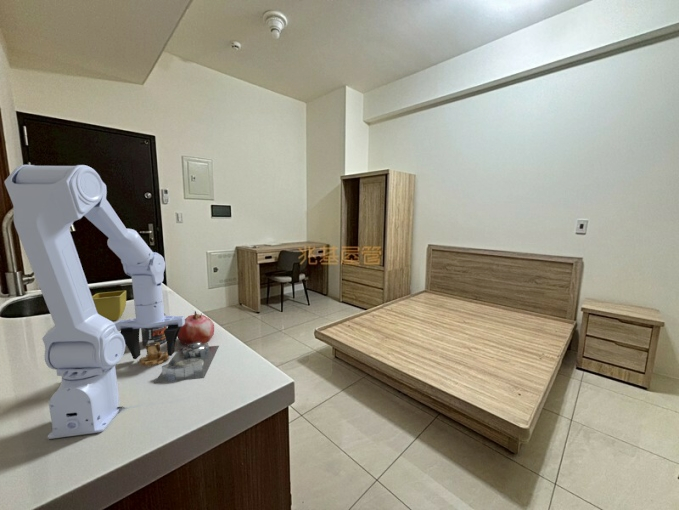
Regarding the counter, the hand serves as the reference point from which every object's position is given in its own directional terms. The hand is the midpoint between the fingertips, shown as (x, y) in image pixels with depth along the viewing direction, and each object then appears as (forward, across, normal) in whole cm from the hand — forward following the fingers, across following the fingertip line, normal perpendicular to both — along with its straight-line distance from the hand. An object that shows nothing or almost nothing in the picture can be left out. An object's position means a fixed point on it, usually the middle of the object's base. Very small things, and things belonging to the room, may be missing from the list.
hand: (154, 355), depth 71 cm
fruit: (+2, -7, -10) cm, 12 cm away
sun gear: (+1, -9, -2) cm, 9 cm away
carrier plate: (+2, -9, +3) cm, 10 cm away
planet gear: (+2, 0, 0) cm, 2 cm away
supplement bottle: (+2, +4, -11) cm, 12 cm away
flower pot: (+2, +28, -37) cm, 46 cm away
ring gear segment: (+1, -9, +9) cm, 13 cm away
